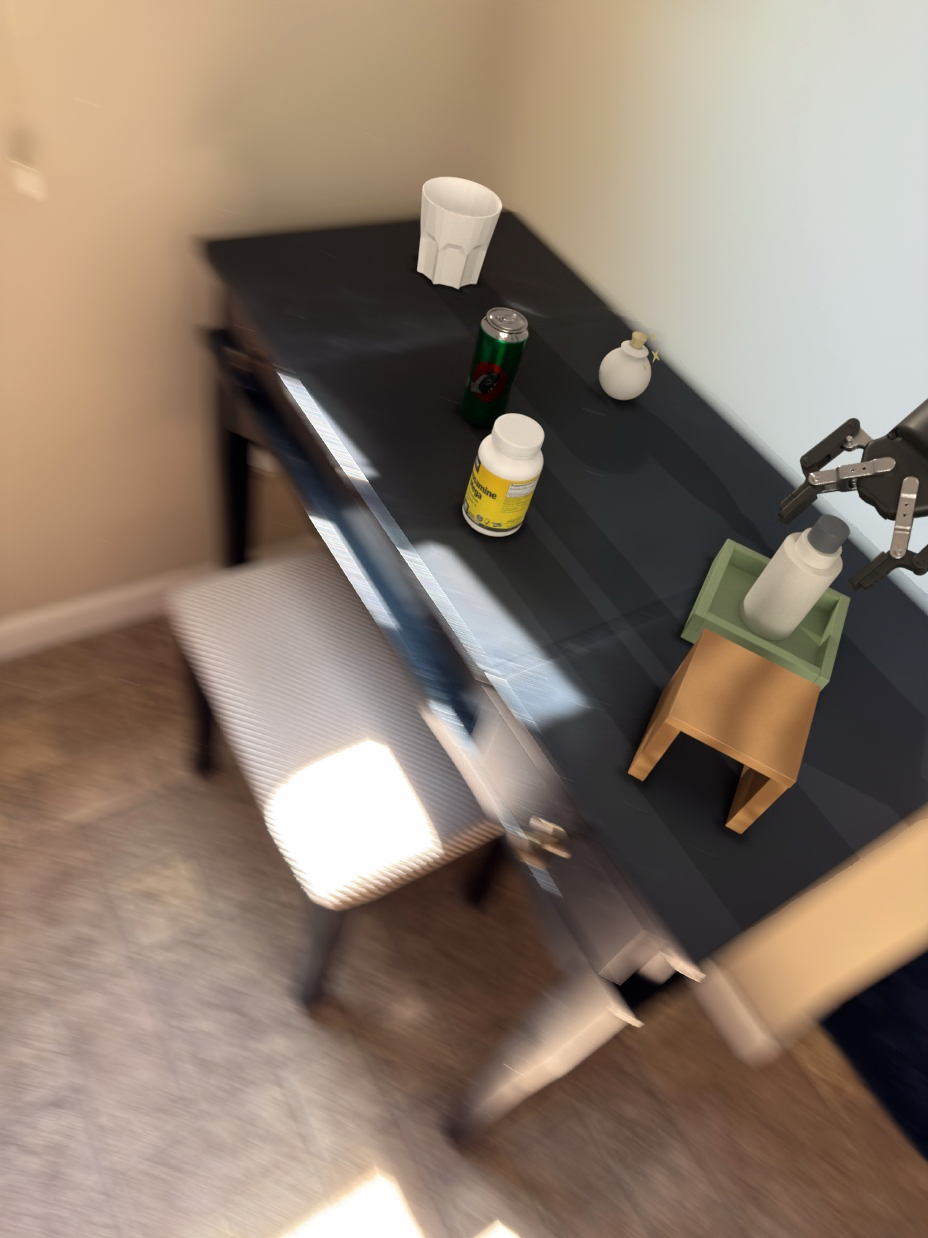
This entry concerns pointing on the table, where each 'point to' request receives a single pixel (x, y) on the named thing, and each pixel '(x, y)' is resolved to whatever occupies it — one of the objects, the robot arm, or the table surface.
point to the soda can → (494, 366)
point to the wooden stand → (735, 720)
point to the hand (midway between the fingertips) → (815, 552)
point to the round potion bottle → (627, 368)
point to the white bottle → (795, 579)
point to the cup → (455, 229)
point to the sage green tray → (798, 653)
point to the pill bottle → (504, 476)
